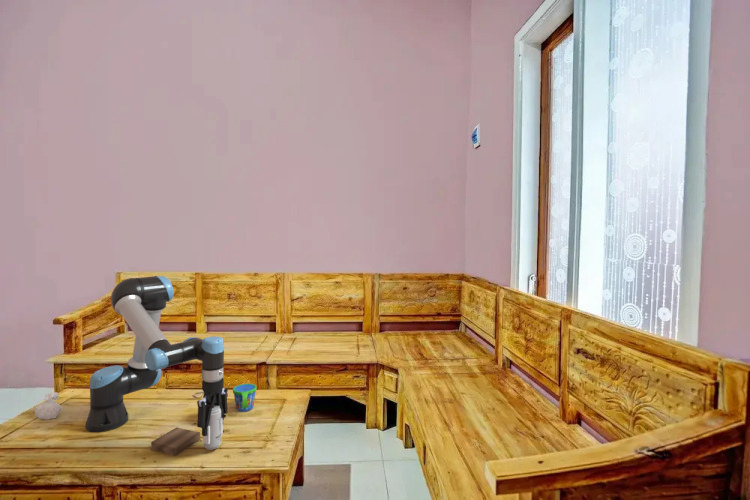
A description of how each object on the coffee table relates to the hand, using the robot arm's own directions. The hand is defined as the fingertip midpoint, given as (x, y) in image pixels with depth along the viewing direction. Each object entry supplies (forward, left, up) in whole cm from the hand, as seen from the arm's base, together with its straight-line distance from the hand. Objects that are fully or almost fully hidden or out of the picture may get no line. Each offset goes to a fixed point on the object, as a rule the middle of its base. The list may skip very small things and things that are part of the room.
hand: (212, 438), depth 147 cm
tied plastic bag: (-87, -3, -5) cm, 87 cm away
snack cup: (-11, +33, -5) cm, 35 cm away
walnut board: (-16, -2, -4) cm, 16 cm away
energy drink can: (0, 0, -3) cm, 3 cm away
